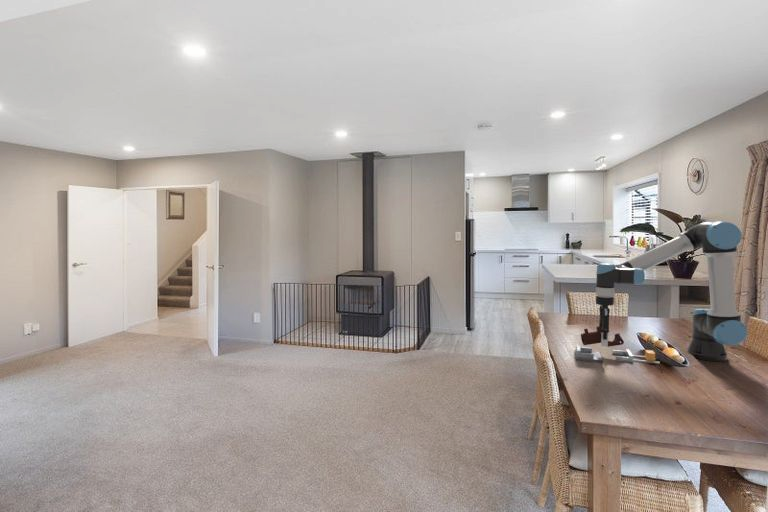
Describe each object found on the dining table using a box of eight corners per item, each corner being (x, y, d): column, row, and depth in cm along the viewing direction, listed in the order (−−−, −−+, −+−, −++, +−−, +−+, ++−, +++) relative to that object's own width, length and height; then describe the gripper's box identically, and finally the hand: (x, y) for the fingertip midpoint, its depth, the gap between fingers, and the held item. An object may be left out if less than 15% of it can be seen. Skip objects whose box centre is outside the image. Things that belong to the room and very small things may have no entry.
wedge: (652, 358, 189) (652, 350, 189) (655, 362, 185) (655, 353, 184) (644, 358, 190) (645, 349, 190) (647, 361, 186) (647, 353, 186)
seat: (654, 359, 192) (654, 350, 192) (661, 368, 181) (661, 359, 180) (574, 352, 205) (574, 343, 205) (576, 360, 193) (576, 351, 193)
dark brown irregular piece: (626, 343, 188) (619, 322, 191) (586, 349, 192) (581, 328, 195) (622, 344, 194) (615, 323, 197) (584, 350, 197) (578, 329, 201)
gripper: (593, 292, 204) (592, 337, 205) (598, 299, 184) (596, 348, 186) (610, 293, 201) (609, 338, 202) (617, 300, 182) (615, 350, 183)
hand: (603, 343), depth 194 cm, fingers closed on dark brown irregular piece, 8 cm apart
